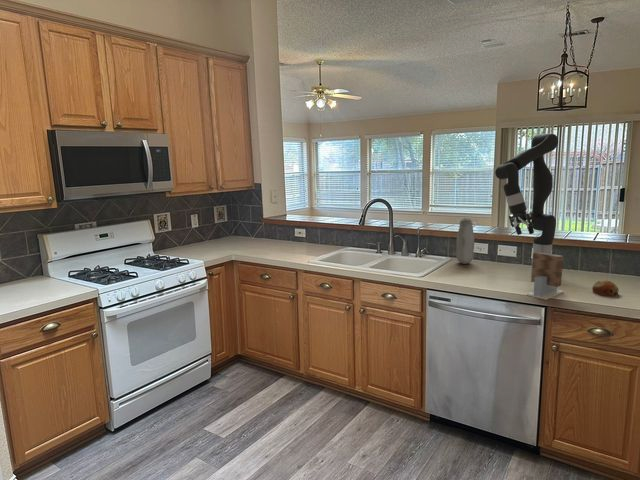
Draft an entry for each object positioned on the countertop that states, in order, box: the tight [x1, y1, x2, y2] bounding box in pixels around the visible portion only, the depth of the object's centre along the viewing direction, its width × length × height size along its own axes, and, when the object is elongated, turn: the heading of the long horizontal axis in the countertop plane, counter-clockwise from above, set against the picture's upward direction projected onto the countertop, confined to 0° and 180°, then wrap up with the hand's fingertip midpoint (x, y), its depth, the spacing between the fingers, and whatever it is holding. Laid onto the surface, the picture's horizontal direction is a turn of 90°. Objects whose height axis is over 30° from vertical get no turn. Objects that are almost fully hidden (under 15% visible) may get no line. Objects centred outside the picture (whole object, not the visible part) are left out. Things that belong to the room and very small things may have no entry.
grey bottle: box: [455, 217, 475, 265], centre depth 260 cm, size 10×10×28 cm
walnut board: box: [530, 252, 564, 288], centre depth 198 cm, size 12×4×14 cm, turn 36°
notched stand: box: [526, 276, 565, 301], centre depth 200 cm, size 17×9×9 cm, turn 126°
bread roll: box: [591, 279, 620, 297], centre depth 200 cm, size 10×10×8 cm
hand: (525, 234), depth 211 cm, fingers open, 8 cm apart
